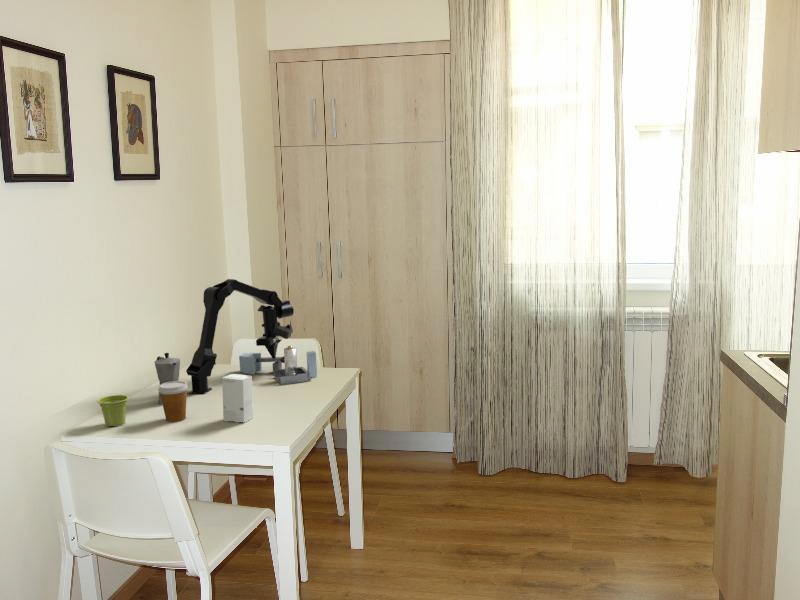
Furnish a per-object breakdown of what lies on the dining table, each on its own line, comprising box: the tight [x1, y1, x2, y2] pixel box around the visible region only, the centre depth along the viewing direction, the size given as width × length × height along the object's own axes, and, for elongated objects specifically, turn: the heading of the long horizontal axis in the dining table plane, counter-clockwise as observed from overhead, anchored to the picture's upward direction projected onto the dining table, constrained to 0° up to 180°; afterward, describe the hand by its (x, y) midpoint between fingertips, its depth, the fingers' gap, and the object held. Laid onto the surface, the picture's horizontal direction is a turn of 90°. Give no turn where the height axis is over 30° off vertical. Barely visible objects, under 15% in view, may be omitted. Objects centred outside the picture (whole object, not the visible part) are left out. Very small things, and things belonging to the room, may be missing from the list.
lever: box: [256, 355, 285, 364], centre depth 301 cm, size 4×14×2 cm, turn 77°
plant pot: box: [97, 394, 129, 427], centre depth 241 cm, size 9×9×9 cm
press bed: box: [273, 350, 318, 386], centre depth 290 cm, size 16×12×10 cm
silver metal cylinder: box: [283, 345, 298, 376], centre depth 289 cm, size 5×5×13 cm
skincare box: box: [221, 373, 254, 424], centre depth 240 cm, size 8×6×15 cm
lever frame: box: [238, 352, 283, 375], centre depth 303 cm, size 7×17×7 cm, turn 77°
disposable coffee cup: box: [157, 380, 189, 423], centre depth 244 cm, size 10×10×12 cm
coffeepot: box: [154, 352, 181, 405], centre depth 266 cm, size 15×9×18 cm, turn 41°
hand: (273, 357), depth 301 cm, fingers closed, pressing on lever
